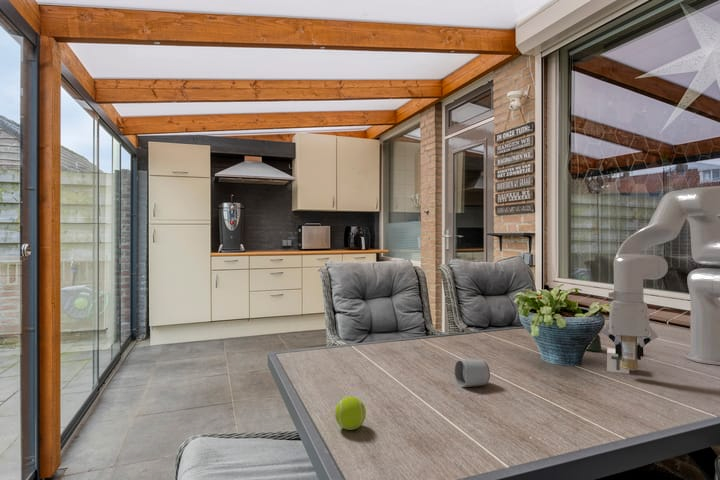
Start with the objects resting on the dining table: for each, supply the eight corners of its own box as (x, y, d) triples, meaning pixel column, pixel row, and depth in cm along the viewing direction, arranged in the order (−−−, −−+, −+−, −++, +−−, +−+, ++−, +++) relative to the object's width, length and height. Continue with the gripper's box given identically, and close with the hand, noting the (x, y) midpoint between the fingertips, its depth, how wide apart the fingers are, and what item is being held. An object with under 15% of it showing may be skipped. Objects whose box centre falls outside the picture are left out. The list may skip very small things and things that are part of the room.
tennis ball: (335, 436, 94) (334, 404, 94) (335, 421, 101) (335, 392, 101) (366, 435, 94) (366, 403, 94) (364, 421, 101) (364, 391, 101)
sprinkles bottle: (641, 368, 128) (640, 324, 128) (633, 371, 126) (633, 326, 125) (624, 364, 132) (624, 321, 132) (617, 367, 130) (616, 323, 129)
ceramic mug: (492, 388, 122) (491, 361, 122) (466, 391, 120) (466, 363, 120) (472, 376, 132) (472, 352, 132) (448, 379, 130) (448, 354, 130)
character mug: (592, 346, 166) (592, 312, 166) (610, 350, 160) (610, 315, 160) (573, 349, 162) (573, 315, 161) (590, 354, 155) (590, 318, 155)
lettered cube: (607, 366, 142) (607, 348, 142) (628, 369, 139) (628, 350, 139) (606, 371, 136) (607, 352, 136) (629, 374, 133) (629, 355, 133)
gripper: (595, 297, 129) (596, 357, 130) (664, 301, 121) (664, 365, 121) (596, 294, 136) (597, 351, 136) (661, 297, 127) (662, 357, 128)
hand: (629, 357), depth 129 cm, fingers closed on sprinkles bottle, 4 cm apart
